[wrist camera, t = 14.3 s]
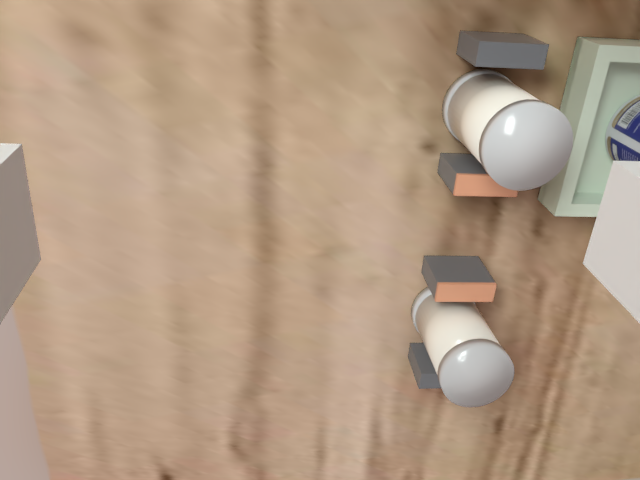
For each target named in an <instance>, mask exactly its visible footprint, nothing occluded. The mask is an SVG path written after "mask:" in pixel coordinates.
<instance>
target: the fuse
mask: <svg viewBox="0 0 640 480" xmlns="http://www.w3.org/2000/svg"><path fill="white" fill-rule="evenodd" d="M442 116H443V120H444V123H445V125H446V127H447V129H448V130H449V131H450V133H451V134H452V135H453V136H454V137H455V138H456V139H457V140H459V141H460V142H462V143H463V145H464V146H465V147H466V148H467V149H468V150H469V151H470V152H471V153H472V154H473V155H474V156H475V158H476V159H477V160H478V161H479V162H480V163H481V164H482V166H483V168H484V169H485V171H486V172H487V173H488V174H489V175H490V176H491V178H492V179H493V180H494V181H495V182H496V183H498V184H499V185H501V186H503V187H505V188H507V189H511V190H517V191H524V190H531V189H534V188H537V187H540V186H542V185H544V184H546V183H547V182H549V181H550V180H552V179H553V178H554V177H555V176H556V175H557V174H558V173H559V172H560V171H561V170H562V169H563V167H564V166H565V164H566V163H567V161H568V159H569V157H570V154H571V151H572V147H573V131H572V127H571V125H570V122H569V121H568V119H567V118H566V116H565V115H564V114H563V113H562V112H560V111H559V110H558V109H556V108H554V107H553V106H551V105H550V104H548V103H546V102H543V101H540V100H538V99H537V98H535V97H534V96H532V95H531V94H529V93H527V92H526V91H524V90H523V89H521V88H520V87H518V86H517V85H515V84H513V82H512V81H511V80H510V79H508V78H507V77H505V76H504V75H502V74H501V73H499V72H497V71H495V70H491V69H477V70H473V71H470V72H467V73H465V74H464V75H462V76H461V77H459V78H458V79H457V80H456V81H455V82H454V83H453V84H452V85H451V86H450V88H449V89H448V91H447V93H446V95H445V97H444V100H443V105H442Z"/></svg>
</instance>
